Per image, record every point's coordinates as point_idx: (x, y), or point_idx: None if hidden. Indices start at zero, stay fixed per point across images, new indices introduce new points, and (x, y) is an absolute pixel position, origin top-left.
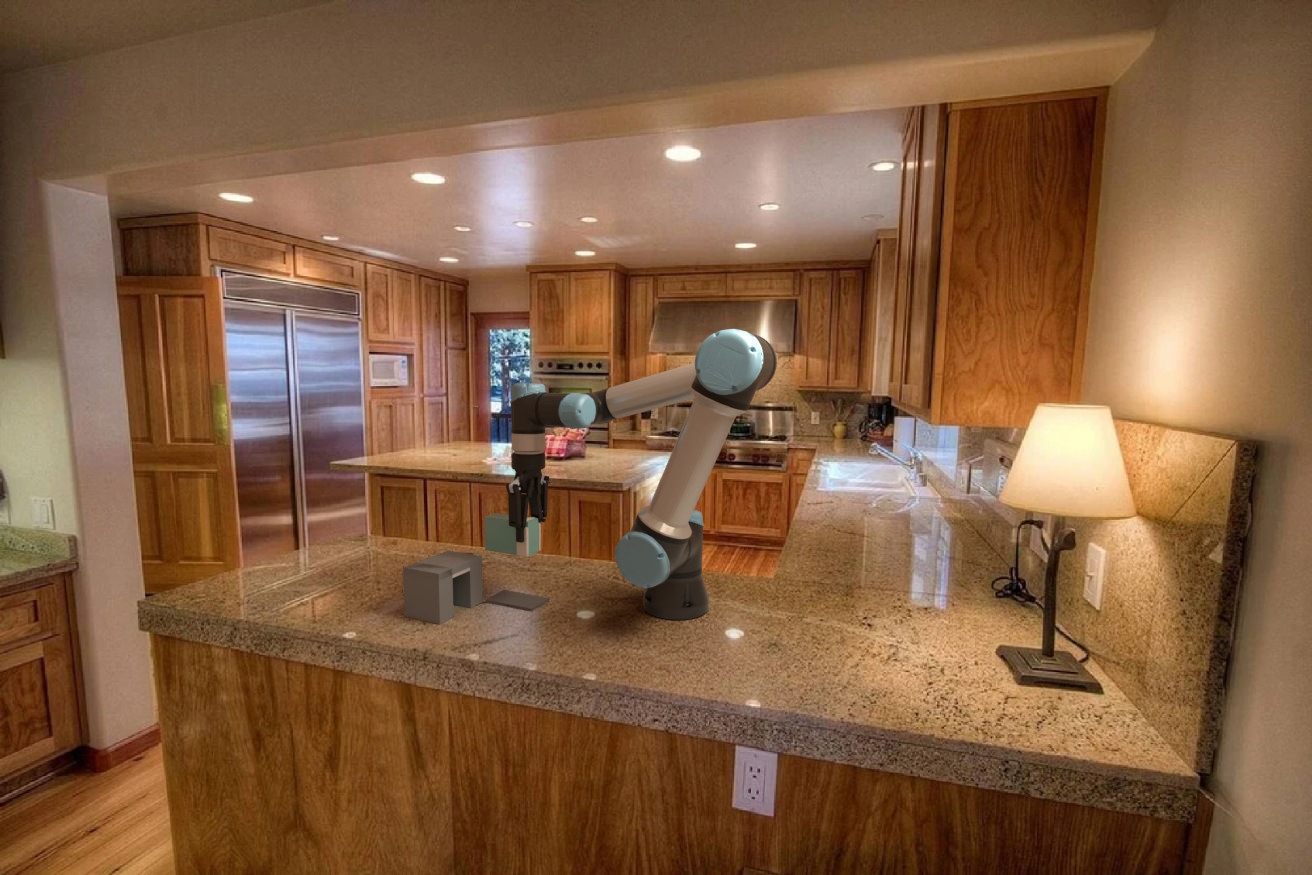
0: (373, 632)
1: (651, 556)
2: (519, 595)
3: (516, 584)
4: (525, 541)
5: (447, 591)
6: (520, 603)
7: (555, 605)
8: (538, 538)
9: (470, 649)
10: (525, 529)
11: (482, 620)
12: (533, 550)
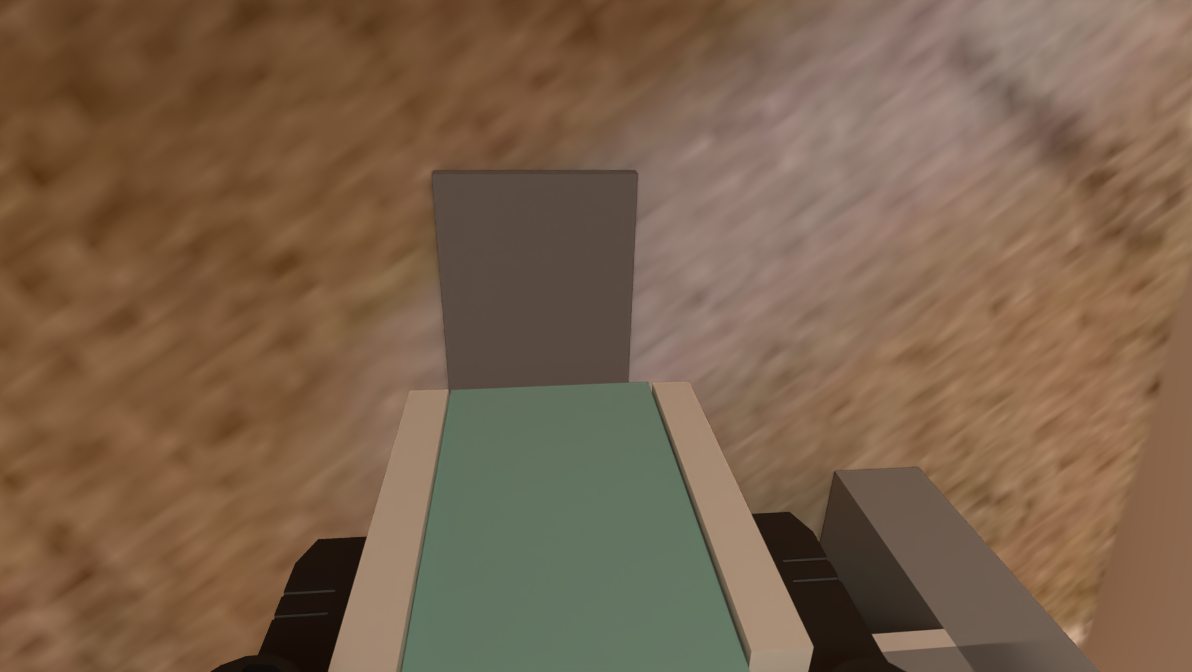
0: None
1: None
2: (490, 365)
3: (324, 494)
4: (738, 500)
5: (948, 572)
6: (593, 286)
7: (483, 81)
8: (433, 487)
9: (1148, 169)
10: (804, 641)
11: (830, 336)
12: (548, 409)
